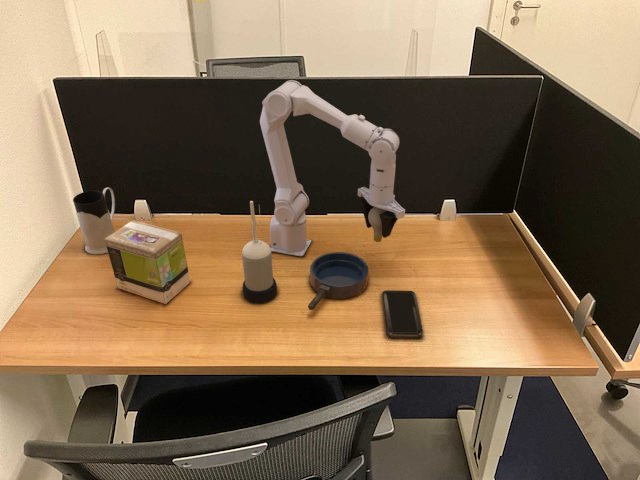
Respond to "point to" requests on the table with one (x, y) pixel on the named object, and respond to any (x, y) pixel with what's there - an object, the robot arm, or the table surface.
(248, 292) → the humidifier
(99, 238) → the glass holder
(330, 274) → the pan
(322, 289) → the pan handle
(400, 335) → the phone
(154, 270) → the tea box
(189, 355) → the table surface
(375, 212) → the light bulb
